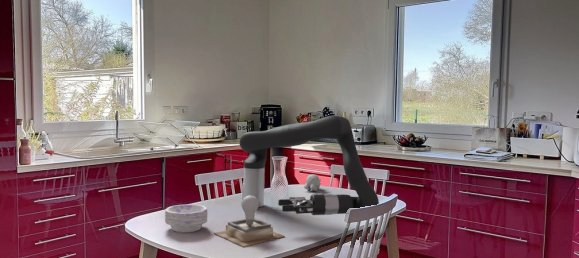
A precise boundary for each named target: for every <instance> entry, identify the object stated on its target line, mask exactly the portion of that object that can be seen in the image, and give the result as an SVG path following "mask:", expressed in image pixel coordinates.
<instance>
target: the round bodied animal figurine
mask: <svg viewBox="0 0 579 258" xmlns="http://www.w3.org/2000/svg"><path fill="white" fill-rule="evenodd" d="M321 180H322V179H320V177H319V176H318V175H317V174H313V173H312V174H309V175H307V177H306V178H305V184H304V187H303V188H304V189H305V190H307V191H312V192H318V190H319V189H320V188H321V183H322V182H321Z"/></svg>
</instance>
